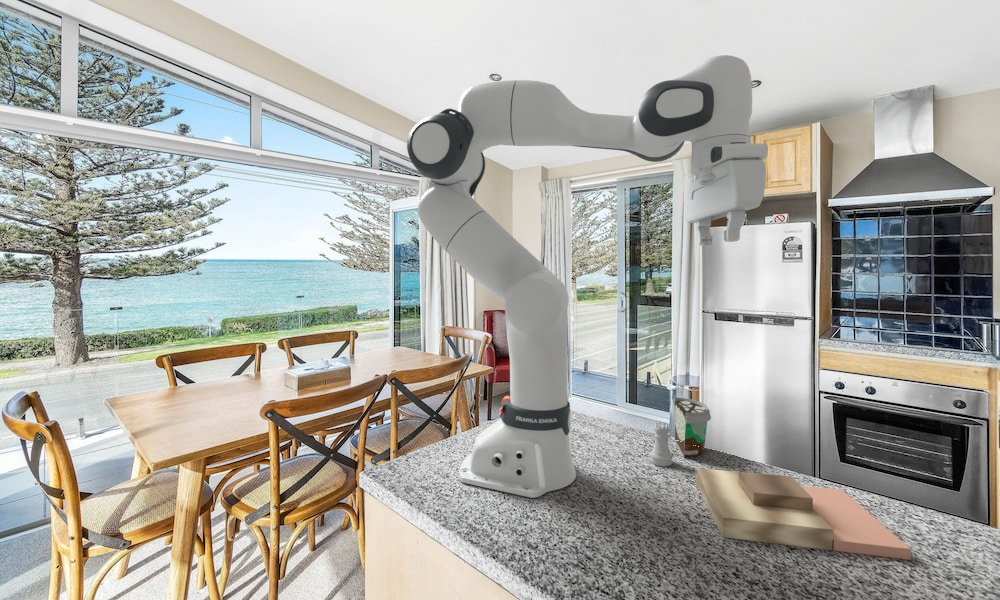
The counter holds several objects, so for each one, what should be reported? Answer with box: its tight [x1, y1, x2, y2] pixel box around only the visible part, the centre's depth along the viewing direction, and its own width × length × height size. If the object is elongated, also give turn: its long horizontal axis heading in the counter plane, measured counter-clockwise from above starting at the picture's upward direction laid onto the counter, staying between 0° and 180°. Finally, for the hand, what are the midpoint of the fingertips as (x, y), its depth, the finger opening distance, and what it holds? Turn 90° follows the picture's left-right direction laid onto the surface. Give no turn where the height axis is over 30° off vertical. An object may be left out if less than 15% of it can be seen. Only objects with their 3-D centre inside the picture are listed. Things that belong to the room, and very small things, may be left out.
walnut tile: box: [737, 471, 813, 511], centre depth 67 cm, size 8×7×2 cm
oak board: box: [696, 467, 833, 551], centre depth 68 cm, size 14×16×3 cm
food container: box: [673, 397, 712, 459], centre depth 92 cm, size 12×6×10 cm, turn 168°
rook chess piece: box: [649, 421, 674, 468], centre depth 86 cm, size 4×4×8 cm
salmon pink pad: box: [800, 485, 912, 561], centre depth 65 cm, size 9×16×2 cm, turn 167°
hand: (717, 243), depth 71 cm, fingers open, 8 cm apart
